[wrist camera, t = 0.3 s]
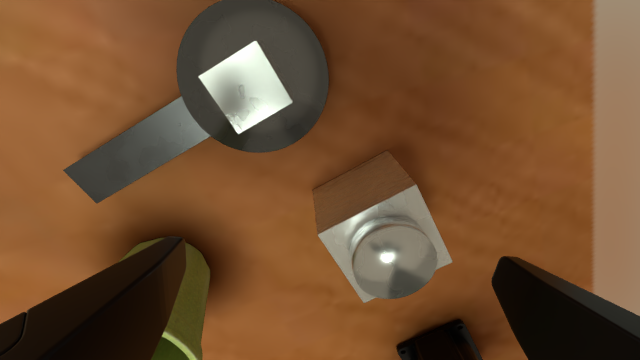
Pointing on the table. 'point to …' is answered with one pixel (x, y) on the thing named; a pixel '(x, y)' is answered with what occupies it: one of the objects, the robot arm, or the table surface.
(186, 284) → the plant pot
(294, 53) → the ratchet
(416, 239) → the block with round boss
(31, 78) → the table surface
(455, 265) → the table surface
